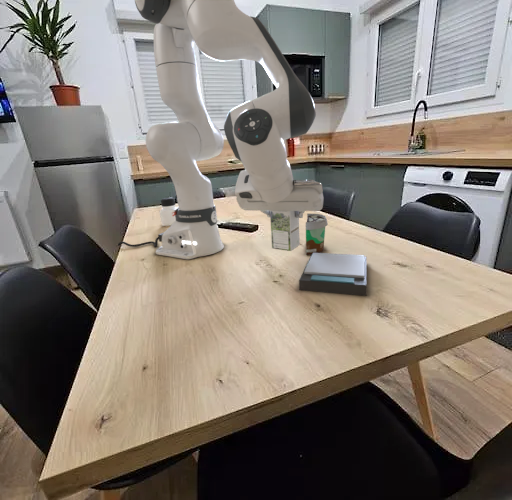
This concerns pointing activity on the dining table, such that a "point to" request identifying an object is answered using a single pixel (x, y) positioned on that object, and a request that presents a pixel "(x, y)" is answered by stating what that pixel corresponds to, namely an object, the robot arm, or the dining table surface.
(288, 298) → the dining table surface
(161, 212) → the medicine bottle
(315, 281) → the kitchen scale
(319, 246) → the food container
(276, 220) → the syrup box
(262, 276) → the dining table surface
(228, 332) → the dining table surface
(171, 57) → the robot arm
